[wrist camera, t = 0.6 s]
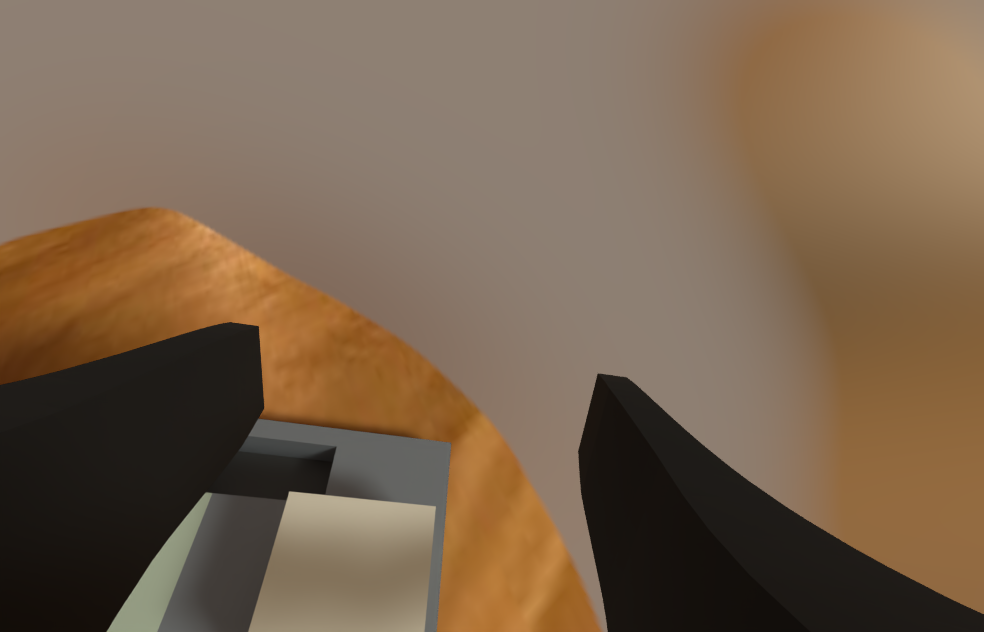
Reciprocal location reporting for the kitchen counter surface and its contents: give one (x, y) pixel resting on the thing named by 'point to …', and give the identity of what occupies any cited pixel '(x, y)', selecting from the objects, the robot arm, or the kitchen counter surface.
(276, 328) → the kitchen counter surface
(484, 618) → the kitchen counter surface
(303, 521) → the beech block
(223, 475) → the board
